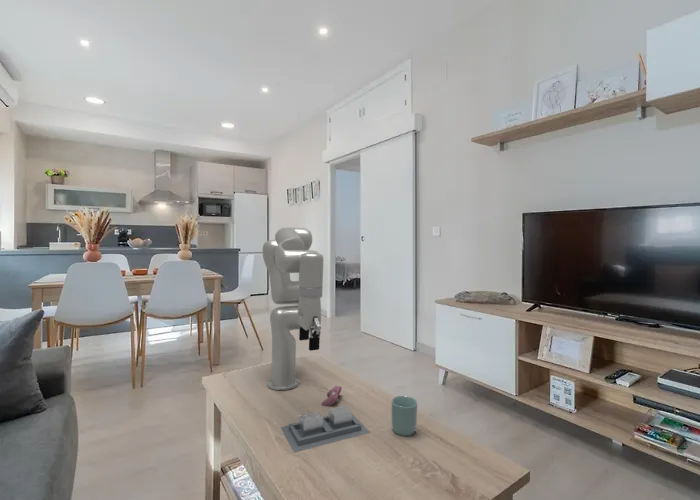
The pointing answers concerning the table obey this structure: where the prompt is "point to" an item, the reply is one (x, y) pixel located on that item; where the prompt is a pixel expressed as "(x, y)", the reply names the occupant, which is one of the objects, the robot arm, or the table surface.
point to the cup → (404, 415)
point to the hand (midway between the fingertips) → (308, 344)
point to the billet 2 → (340, 417)
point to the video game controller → (332, 396)
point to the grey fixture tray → (322, 434)
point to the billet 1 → (310, 424)
